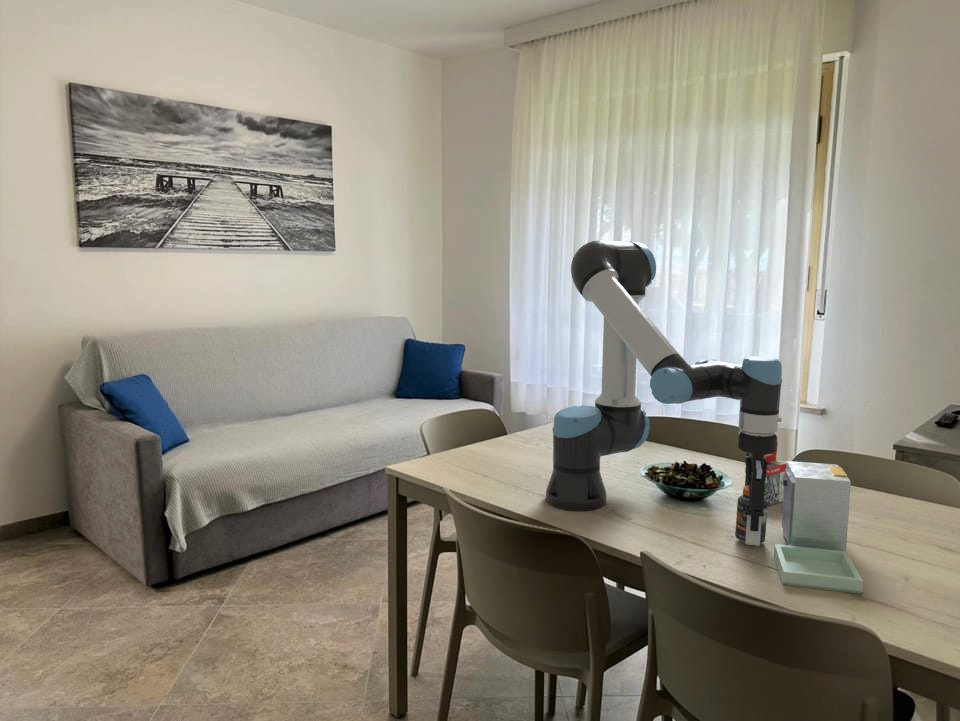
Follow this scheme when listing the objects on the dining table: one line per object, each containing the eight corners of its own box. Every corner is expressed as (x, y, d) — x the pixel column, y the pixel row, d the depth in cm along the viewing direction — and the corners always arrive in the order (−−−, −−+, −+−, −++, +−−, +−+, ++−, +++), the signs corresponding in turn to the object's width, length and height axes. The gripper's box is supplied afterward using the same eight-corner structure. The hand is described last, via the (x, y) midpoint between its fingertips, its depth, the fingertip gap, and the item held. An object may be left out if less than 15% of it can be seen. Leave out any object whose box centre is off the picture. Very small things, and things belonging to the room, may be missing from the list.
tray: (782, 584, 122) (783, 571, 122) (773, 555, 134) (774, 544, 134) (862, 594, 118) (863, 580, 118) (845, 563, 130) (846, 551, 130)
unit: (786, 552, 136) (791, 475, 134) (778, 530, 147) (782, 459, 145) (847, 558, 133) (852, 480, 130) (834, 536, 144) (839, 463, 142)
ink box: (787, 500, 167) (790, 444, 165) (768, 506, 162) (771, 448, 160) (774, 496, 170) (777, 440, 168) (755, 502, 165) (758, 445, 163)
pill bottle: (730, 533, 143) (733, 483, 142) (756, 533, 144) (759, 482, 142) (743, 545, 138) (746, 493, 136) (770, 544, 138) (774, 492, 136)
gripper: (784, 445, 127) (775, 559, 131) (771, 422, 145) (764, 523, 149) (742, 441, 129) (735, 554, 133) (735, 420, 147) (729, 519, 151)
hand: (751, 537), depth 141 cm, fingers closed on pill bottle, 6 cm apart
